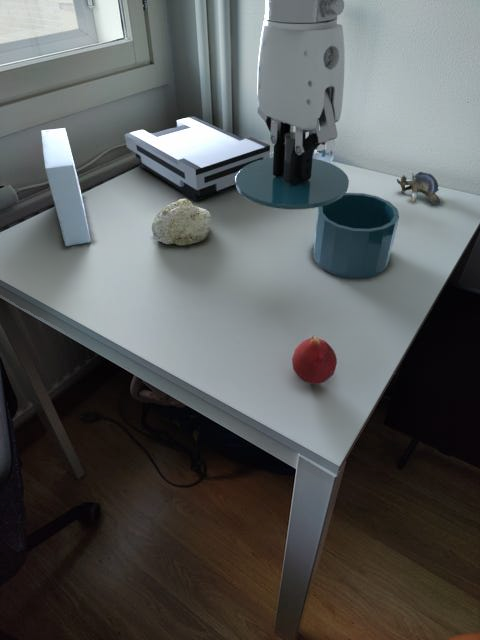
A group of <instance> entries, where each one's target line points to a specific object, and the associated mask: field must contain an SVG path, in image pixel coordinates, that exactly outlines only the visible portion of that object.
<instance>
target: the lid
mask: <svg viewBox="0 0 480 640" xmlns="http://www.w3.org/2000/svg"><path fill="white" fill-rule="evenodd" d="M294 152H295V131H293V132H289V133H286V134H285V135H284V153H283V175H281V176H278V177H276V176H274V175H273V157H270V158H267V159H262V160H259V161H255V162H253V163H250V164H248V165H246V166H245V167H243V168H242V169H241V170H240V171H239V172H238V173H237V175H236V179H235V184H234V185H235V188H236V190H237V192H238V193H239V194H240V195H241V196H242V197H243V198H245V199H247V200H248V201H250V202H252V203H254V204H258V205H260V206H263V207H267V208H272V209H280V210H311V209H316V208H318V207H321V206H325V205H328V204H331V203H333V202H335V201H337V200H339V199H340V198H342V197H343V196H344V195H345V193H348V190H349V187H350V179H349V177H348V175H347V173H346V172H345V171H344V170H343V169H341V168H340V167H339V166H337V165H335V164H333V163H331V162H330V163H328V162H325V161H322V160H318V159H312V170H311V178H310V179H309V180H307V181H304V182H302V183H299V184H296V185H292V184H290V163H291V153H294Z"/></svg>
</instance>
